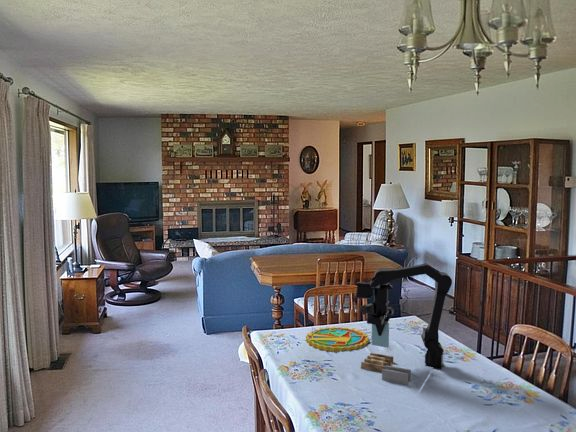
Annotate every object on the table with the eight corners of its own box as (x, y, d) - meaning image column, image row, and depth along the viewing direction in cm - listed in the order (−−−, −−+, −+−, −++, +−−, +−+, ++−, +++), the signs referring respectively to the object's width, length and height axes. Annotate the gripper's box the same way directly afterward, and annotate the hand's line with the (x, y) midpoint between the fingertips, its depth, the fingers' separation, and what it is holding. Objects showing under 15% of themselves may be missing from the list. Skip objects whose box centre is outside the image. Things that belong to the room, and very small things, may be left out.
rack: (394, 363, 215) (394, 356, 215) (385, 374, 204) (386, 366, 204) (369, 359, 220) (369, 352, 220) (360, 369, 209) (360, 362, 209)
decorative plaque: (303, 345, 230) (307, 325, 260) (303, 351, 230) (307, 330, 260) (370, 347, 227) (367, 326, 257) (370, 353, 227) (366, 331, 257)
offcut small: (383, 369, 208) (383, 361, 207) (382, 370, 207) (382, 362, 206) (371, 367, 210) (371, 358, 210) (370, 368, 209) (370, 360, 208)
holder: (410, 380, 198) (410, 369, 197) (407, 385, 193) (407, 374, 193) (385, 376, 202) (385, 365, 202) (381, 380, 198) (382, 369, 198)
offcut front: (385, 365, 211) (385, 357, 211) (383, 367, 210) (384, 358, 210) (371, 363, 214) (371, 355, 214) (370, 364, 213) (370, 356, 213)
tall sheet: (388, 346, 214) (389, 323, 213) (387, 347, 213) (388, 324, 212) (372, 343, 217) (373, 321, 216) (371, 344, 216) (371, 322, 215)
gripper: (369, 291, 225) (369, 326, 226) (355, 301, 208) (354, 338, 210) (394, 294, 220) (393, 329, 221) (381, 305, 203) (380, 343, 205)
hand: (380, 335), depth 214 cm, fingers closed on tall sheet, 1 cm apart
